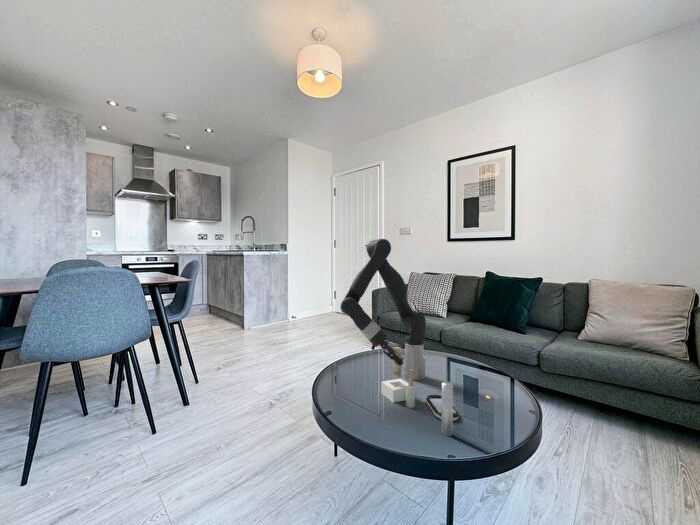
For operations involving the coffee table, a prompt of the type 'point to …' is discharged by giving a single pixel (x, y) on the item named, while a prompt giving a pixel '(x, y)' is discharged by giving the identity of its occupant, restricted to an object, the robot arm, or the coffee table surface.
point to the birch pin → (395, 366)
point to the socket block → (396, 388)
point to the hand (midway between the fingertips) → (401, 362)
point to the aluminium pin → (447, 408)
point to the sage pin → (410, 396)
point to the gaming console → (439, 406)
